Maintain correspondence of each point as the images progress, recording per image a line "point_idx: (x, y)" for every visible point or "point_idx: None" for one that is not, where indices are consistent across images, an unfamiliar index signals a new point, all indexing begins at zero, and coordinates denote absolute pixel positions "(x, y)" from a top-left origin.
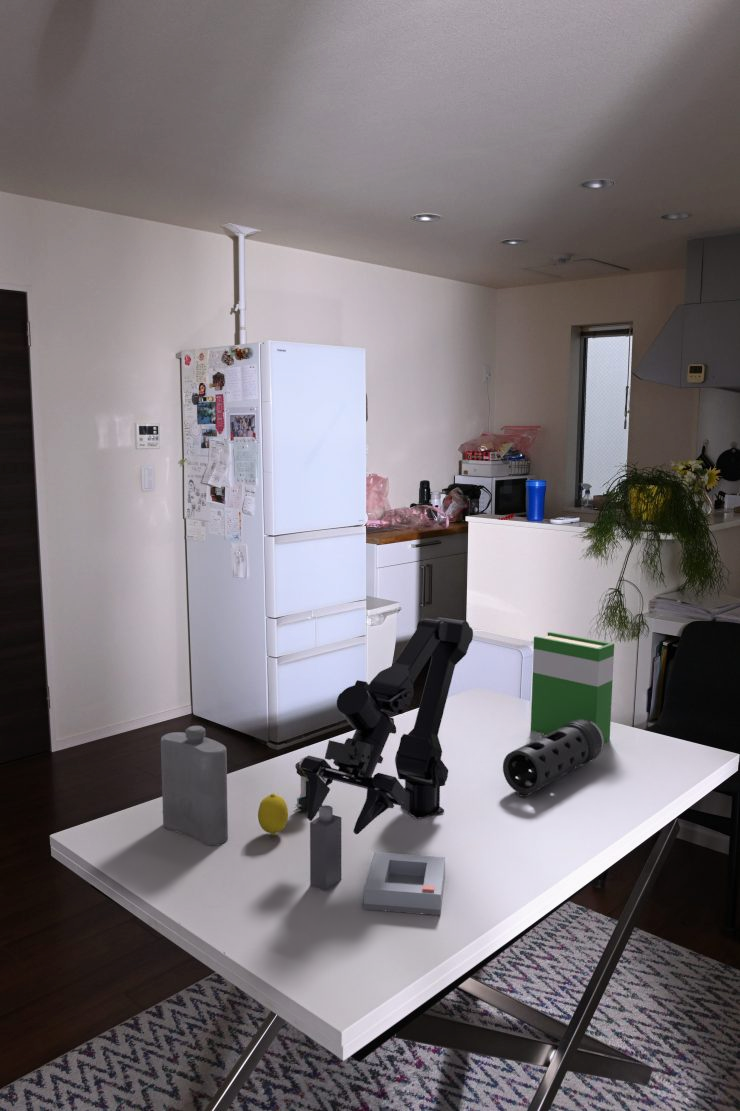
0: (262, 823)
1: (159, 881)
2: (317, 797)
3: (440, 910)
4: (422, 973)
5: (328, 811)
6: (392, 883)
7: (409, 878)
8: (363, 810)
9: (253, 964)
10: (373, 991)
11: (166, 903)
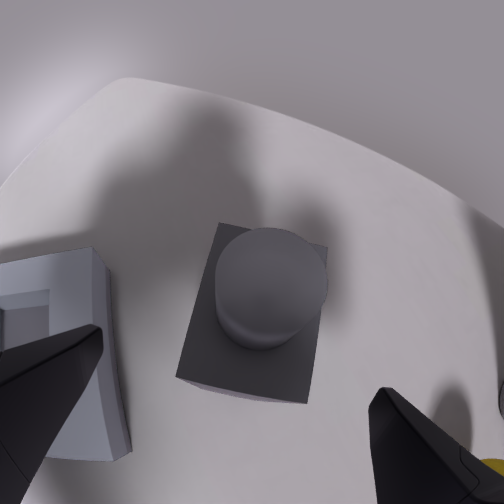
0: (484, 459)
1: (487, 244)
2: (422, 485)
3: None
4: (30, 154)
5: (232, 244)
6: (33, 290)
7: None
8: (9, 365)
9: (248, 108)
10: (88, 113)
11: (442, 196)
